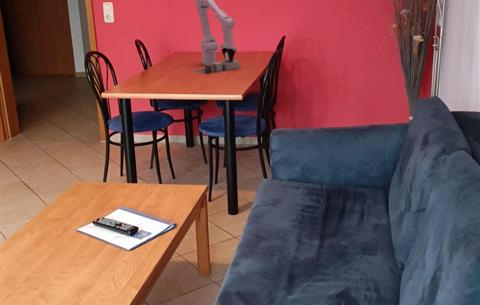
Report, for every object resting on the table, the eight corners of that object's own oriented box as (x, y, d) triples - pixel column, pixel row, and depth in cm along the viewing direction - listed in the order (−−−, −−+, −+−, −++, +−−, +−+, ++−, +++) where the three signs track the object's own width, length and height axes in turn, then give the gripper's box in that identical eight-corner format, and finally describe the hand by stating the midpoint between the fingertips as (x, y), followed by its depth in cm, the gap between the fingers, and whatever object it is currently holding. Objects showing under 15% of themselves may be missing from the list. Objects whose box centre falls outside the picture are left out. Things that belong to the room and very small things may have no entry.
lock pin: (205, 71, 346) (204, 65, 344) (219, 69, 352) (219, 63, 351) (207, 72, 343) (207, 66, 342) (222, 69, 350) (222, 63, 349)
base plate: (191, 72, 350) (191, 70, 350) (226, 66, 365) (226, 64, 365) (206, 76, 338) (206, 74, 338) (241, 69, 353) (241, 68, 352)
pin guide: (212, 69, 350) (211, 62, 349) (217, 69, 352) (217, 62, 351) (217, 71, 346) (216, 64, 344) (222, 70, 348) (222, 63, 347)
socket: (219, 68, 355) (218, 61, 354) (230, 66, 360) (230, 59, 359) (227, 70, 348) (227, 63, 347) (239, 68, 353) (239, 61, 352)
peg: (229, 64, 356) (228, 51, 353) (233, 64, 353) (232, 51, 350) (224, 65, 354) (223, 52, 351) (227, 65, 351) (227, 52, 348)
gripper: (215, 38, 351) (216, 60, 356) (229, 40, 340) (230, 63, 345) (225, 36, 355) (226, 58, 360) (239, 39, 344) (240, 61, 349)
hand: (228, 60), depth 353 cm, fingers closed on peg, 4 cm apart
